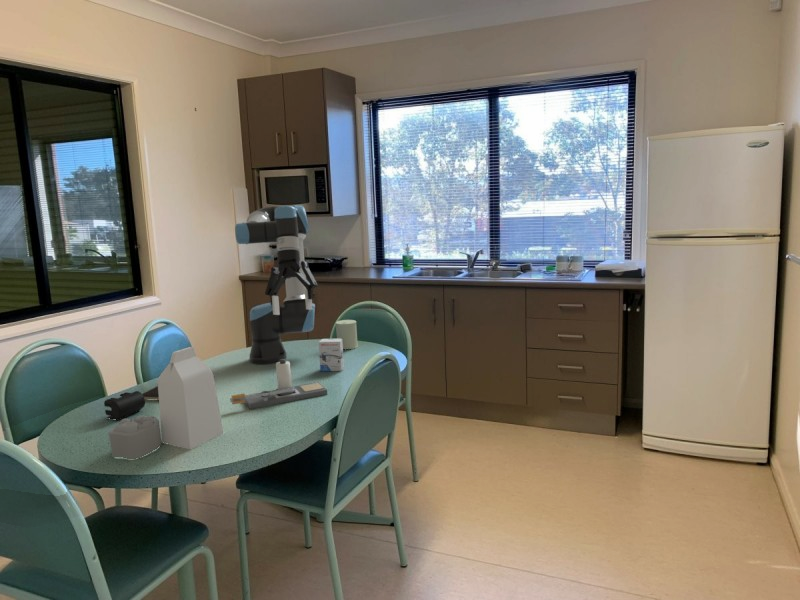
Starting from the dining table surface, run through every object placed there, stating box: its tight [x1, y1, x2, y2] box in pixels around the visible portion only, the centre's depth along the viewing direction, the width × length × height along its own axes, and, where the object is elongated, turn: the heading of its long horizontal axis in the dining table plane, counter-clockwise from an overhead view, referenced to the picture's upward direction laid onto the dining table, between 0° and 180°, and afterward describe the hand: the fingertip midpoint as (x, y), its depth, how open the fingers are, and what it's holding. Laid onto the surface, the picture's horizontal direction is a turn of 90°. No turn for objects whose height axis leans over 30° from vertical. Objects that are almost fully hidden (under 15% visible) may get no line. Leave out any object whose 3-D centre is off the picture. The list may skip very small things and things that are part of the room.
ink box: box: [318, 338, 345, 372], centre depth 228 cm, size 9×5×12 cm, turn 84°
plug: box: [275, 358, 296, 396], centre depth 199 cm, size 7×7×13 cm
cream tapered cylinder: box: [335, 319, 359, 351], centre depth 261 cm, size 9×9×12 cm
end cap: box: [103, 390, 146, 421], centre depth 190 cm, size 10×7×7 cm
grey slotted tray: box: [245, 381, 328, 410], centre depth 200 cm, size 10×26×3 cm, turn 115°
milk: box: [157, 346, 224, 450], centre depth 167 cm, size 12×12×26 cm
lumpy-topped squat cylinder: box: [108, 414, 162, 459], centre depth 162 cm, size 10×13×9 cm
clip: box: [229, 386, 293, 405], centre depth 193 cm, size 3×20×3 cm, turn 115°
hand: (292, 312), depth 201 cm, fingers open, 13 cm apart
